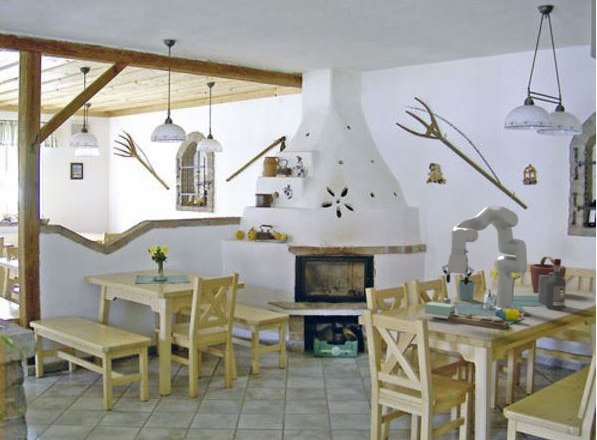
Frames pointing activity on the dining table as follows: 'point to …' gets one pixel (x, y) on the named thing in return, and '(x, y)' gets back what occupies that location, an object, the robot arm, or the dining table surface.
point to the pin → (446, 301)
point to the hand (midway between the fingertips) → (457, 283)
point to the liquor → (556, 289)
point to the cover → (439, 308)
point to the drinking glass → (466, 290)
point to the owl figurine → (509, 314)
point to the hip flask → (543, 287)
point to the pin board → (478, 321)
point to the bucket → (543, 271)
